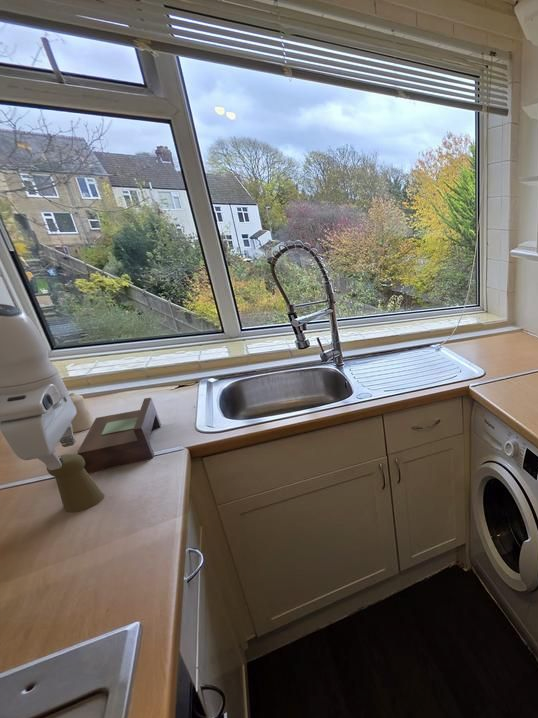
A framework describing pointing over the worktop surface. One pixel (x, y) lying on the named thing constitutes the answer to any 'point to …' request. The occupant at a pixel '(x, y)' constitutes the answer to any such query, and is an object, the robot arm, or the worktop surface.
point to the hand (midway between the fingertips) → (63, 455)
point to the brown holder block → (120, 438)
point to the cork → (76, 484)
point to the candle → (80, 414)
